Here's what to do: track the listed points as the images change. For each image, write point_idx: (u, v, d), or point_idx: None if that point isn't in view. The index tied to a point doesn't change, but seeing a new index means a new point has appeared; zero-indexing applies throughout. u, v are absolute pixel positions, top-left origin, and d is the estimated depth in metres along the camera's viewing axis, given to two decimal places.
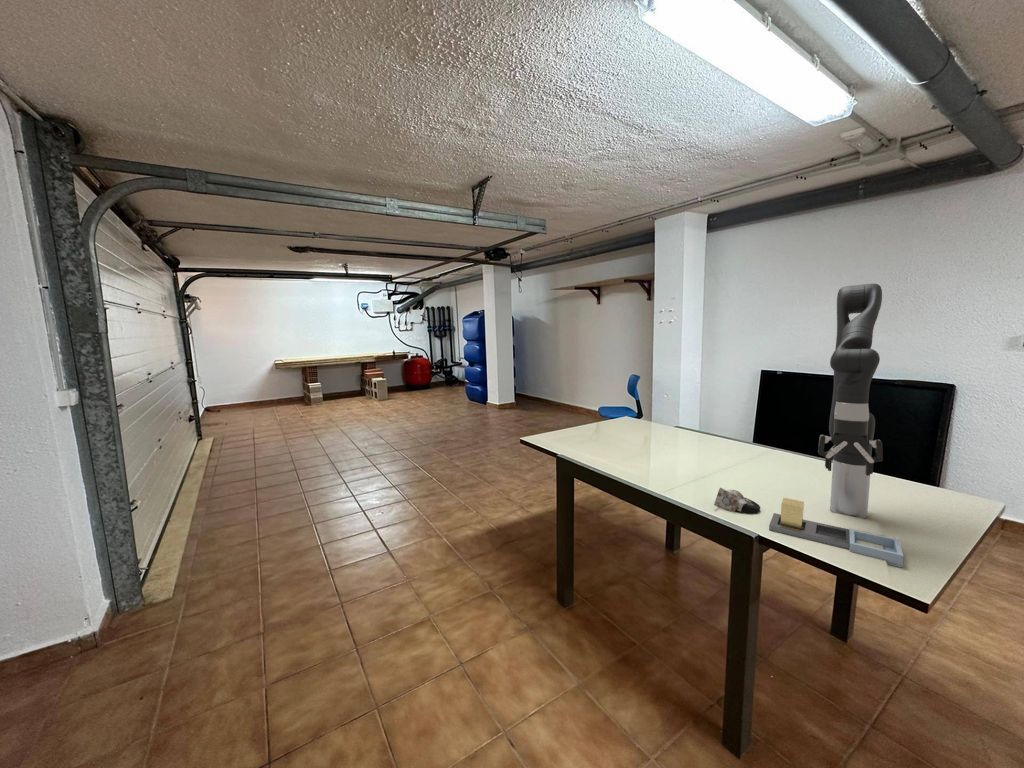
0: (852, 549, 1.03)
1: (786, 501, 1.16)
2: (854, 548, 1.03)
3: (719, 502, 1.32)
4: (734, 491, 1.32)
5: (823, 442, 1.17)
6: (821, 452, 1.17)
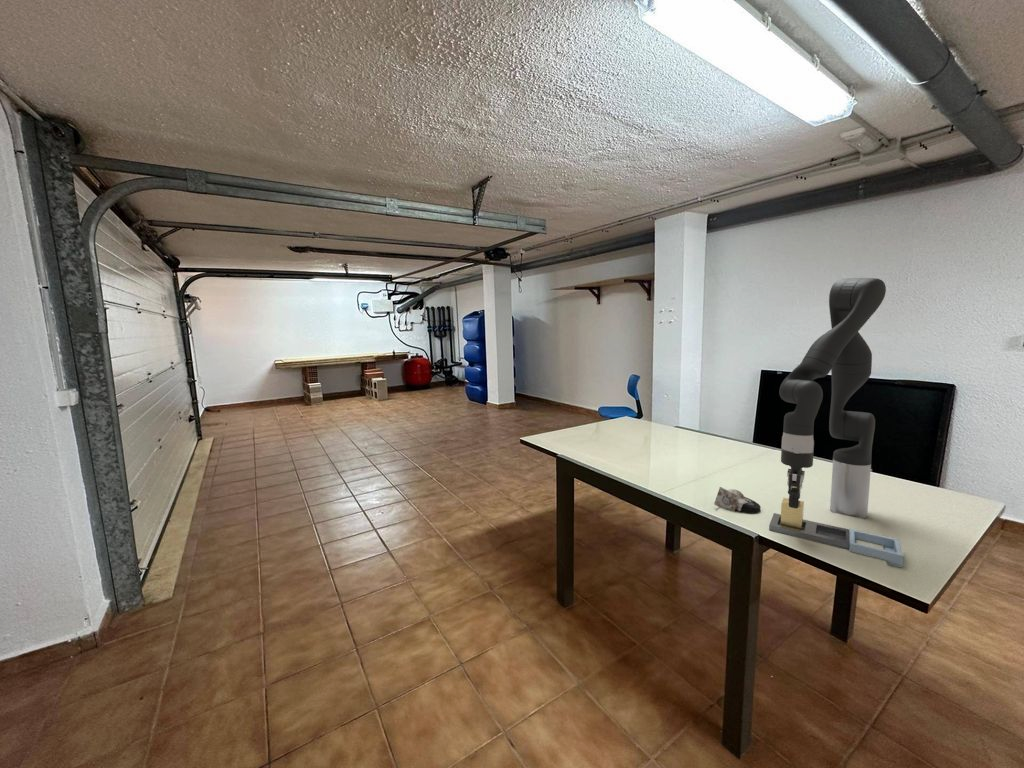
0: (852, 549, 1.03)
1: (786, 501, 1.16)
2: (854, 548, 1.03)
3: (719, 501, 1.32)
4: (734, 491, 1.32)
5: (799, 481, 1.08)
6: (799, 492, 1.08)
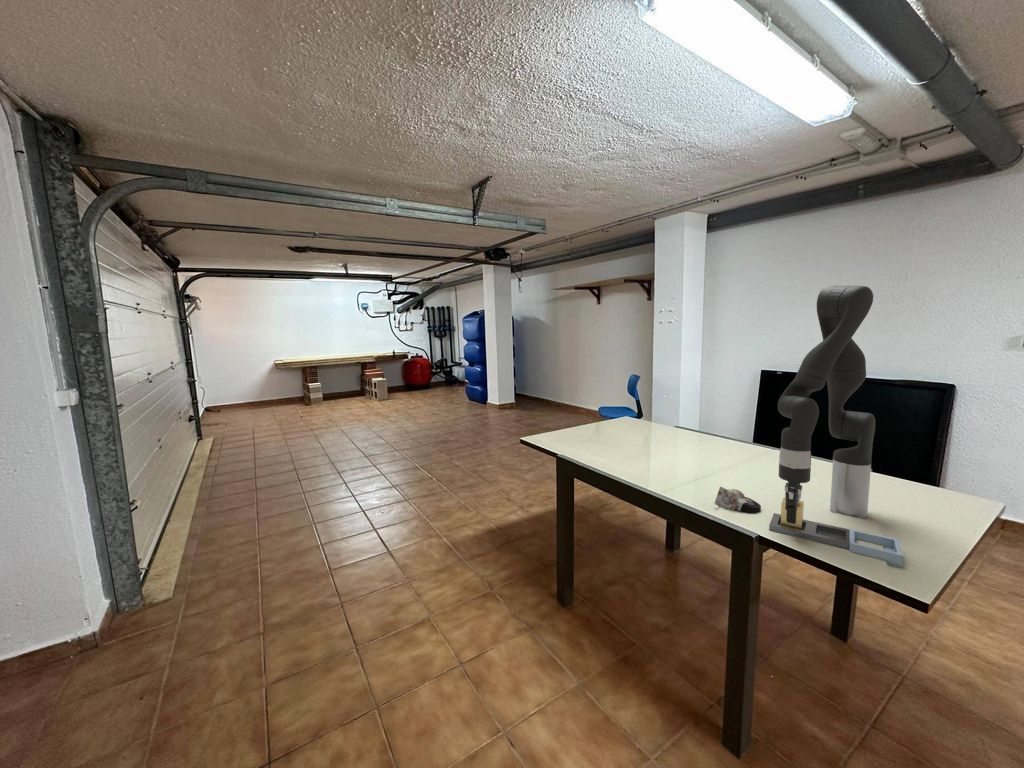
0: (852, 549, 1.03)
1: None
2: (854, 548, 1.03)
3: (719, 501, 1.33)
4: (735, 490, 1.33)
5: (796, 498, 1.10)
6: (796, 508, 1.11)
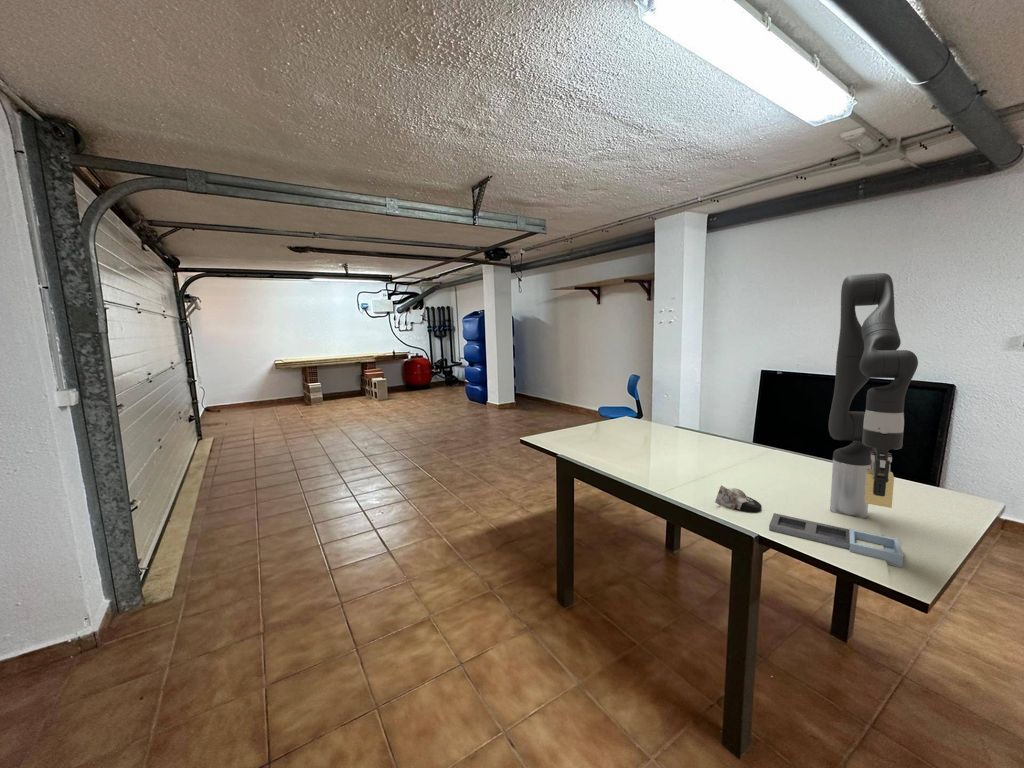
0: (852, 549, 1.03)
1: (872, 471, 1.03)
2: (854, 548, 1.03)
3: (720, 499, 1.34)
4: (736, 490, 1.33)
5: (888, 467, 0.96)
6: (887, 478, 0.97)
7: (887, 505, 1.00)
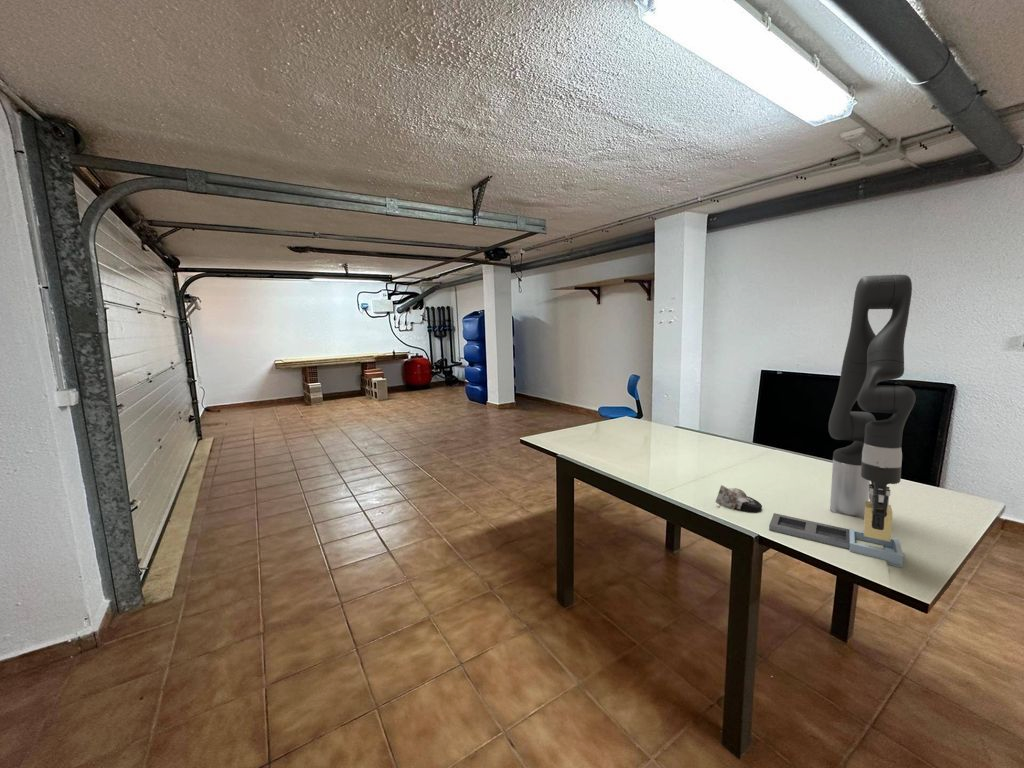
0: (852, 549, 1.03)
1: (870, 504, 1.03)
2: (854, 548, 1.03)
3: (720, 499, 1.34)
4: (736, 489, 1.33)
5: None
6: None
7: (886, 539, 1.00)
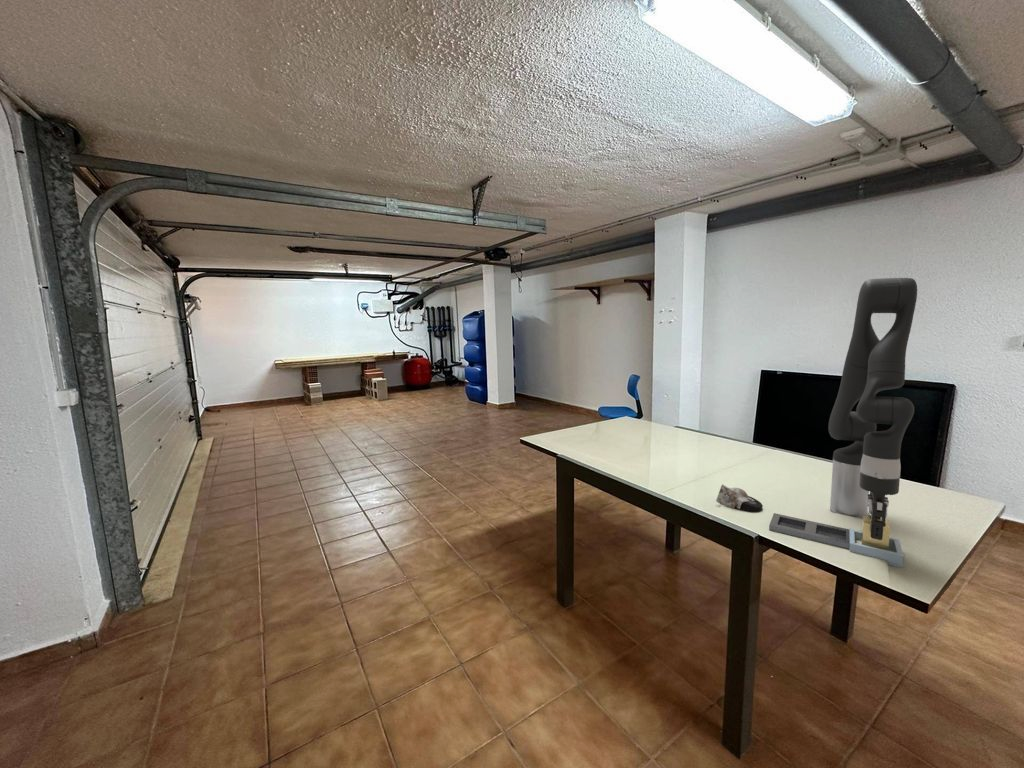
0: (852, 549, 1.03)
1: (868, 520, 1.04)
2: (854, 548, 1.03)
3: (720, 498, 1.35)
4: (737, 489, 1.34)
5: (885, 510, 0.97)
6: None
7: None
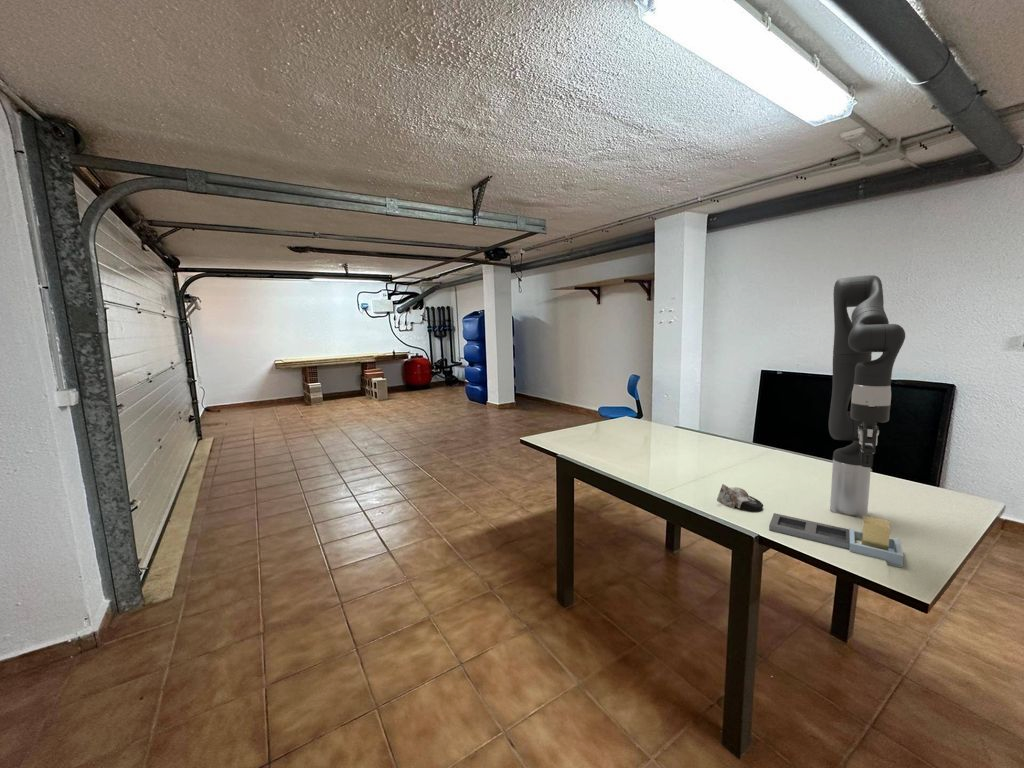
0: (852, 549, 1.03)
1: (868, 520, 1.04)
2: (854, 548, 1.03)
3: (721, 498, 1.35)
4: (738, 489, 1.34)
5: (876, 436, 0.97)
6: None
7: None
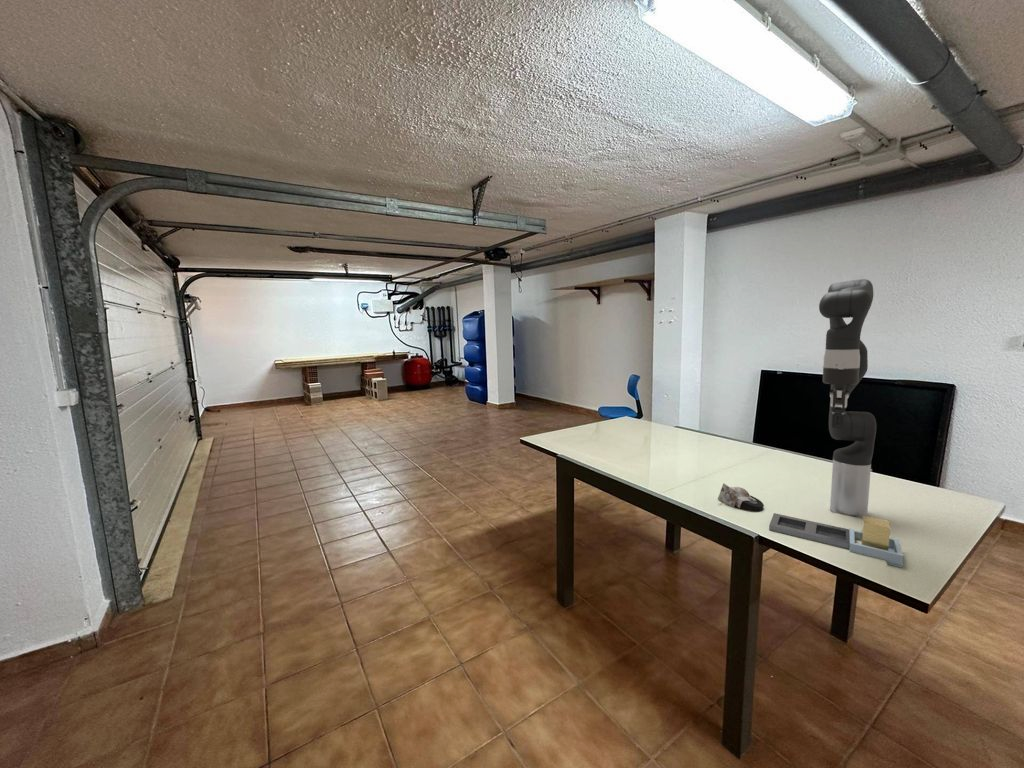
0: (852, 549, 1.03)
1: (868, 520, 1.04)
2: (854, 548, 1.03)
3: (722, 497, 1.36)
4: (739, 488, 1.34)
5: (845, 397, 1.01)
6: (844, 409, 1.01)
7: None
